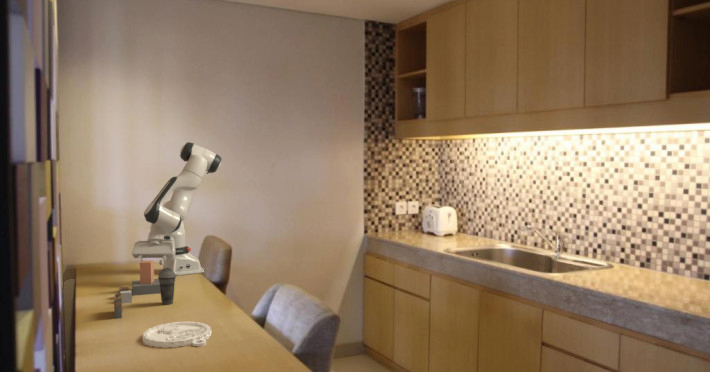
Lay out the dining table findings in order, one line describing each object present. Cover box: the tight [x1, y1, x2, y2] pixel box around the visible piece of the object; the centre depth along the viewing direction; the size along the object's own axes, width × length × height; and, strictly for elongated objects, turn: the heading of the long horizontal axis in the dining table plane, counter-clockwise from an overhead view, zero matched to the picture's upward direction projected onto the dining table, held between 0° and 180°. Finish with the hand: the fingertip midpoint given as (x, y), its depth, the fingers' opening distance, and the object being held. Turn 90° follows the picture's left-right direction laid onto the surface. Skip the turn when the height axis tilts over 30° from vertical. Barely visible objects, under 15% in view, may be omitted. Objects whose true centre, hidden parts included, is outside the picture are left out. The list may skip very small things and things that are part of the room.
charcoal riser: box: [131, 278, 161, 296], centre depth 268 cm, size 13×13×4 cm
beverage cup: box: [157, 258, 177, 306], centre depth 245 cm, size 7×7×20 cm
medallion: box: [142, 320, 213, 349], centre depth 201 cm, size 24×27×2 cm
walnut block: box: [118, 286, 131, 294], centre depth 255 cm, size 4×4×4 cm
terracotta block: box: [139, 260, 155, 284], centre depth 267 cm, size 5×5×10 cm
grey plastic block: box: [120, 289, 133, 304], centre depth 248 cm, size 4×4×4 cm
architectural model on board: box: [113, 293, 123, 320], centre depth 229 cm, size 11×3×10 cm, turn 21°
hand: (151, 264), depth 274 cm, fingers open, 8 cm apart
